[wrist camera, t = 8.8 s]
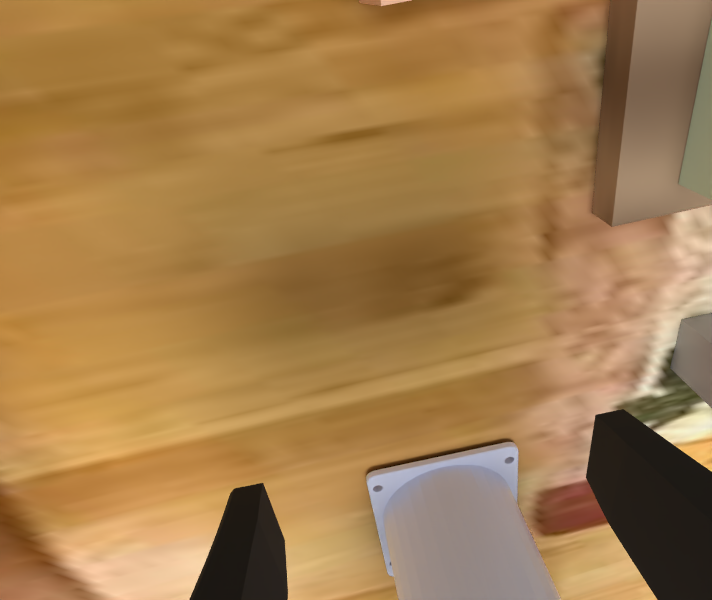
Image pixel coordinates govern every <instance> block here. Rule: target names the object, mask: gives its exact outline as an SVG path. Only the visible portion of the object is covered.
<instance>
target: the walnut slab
mask: <svg viewBox="0 0 712 600" xmlns="http://www.w3.org/2000/svg"><path fill="white" fill-rule="evenodd" d="M711 19H712V0H610V10H609V21H608V33H607V44H606V56H605V67H604V79H603V91H602V102H601V114H600V125H599V137H598V148H597V160H596V171H595V183H594V195H593V206H592V213H593V214H595V215H596V216H597V217H599V218H600V219H602V220H603V221H604V222H606V223H607V224H609V225H610V226H611V227H613V226H618V225H622V224H627V223H631V222H636V221H641V220H645V219H650V218H654V217H659V216H663V215H668V214H672V213H677V212H682V211H686V210H691V209H695V208H700V207H704V206H709V205H712V200H710V199H708V198H706V197H704V196H702V195H700V194H698V193H696V192H694V191H692V190H690V189H688V188H685V187H683V186H681V185H679V184H678V183H679V178H680V173H681V168H682V163H683V158H684V153H685V148H686V143H687V138H688V133H689V128H690V123H691V118H692V113H693V108H694V103H695V99H696V94H697V89H698V84H699V79H700V74H701V69H702V64H703V59H704V54H705V49H706V44H707V39H708V34H709V29H710V24H711Z"/></svg>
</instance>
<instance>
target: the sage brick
mask: <svg viewBox="0 0 712 600" xmlns="http://www.w3.org/2000/svg"><path fill="white" fill-rule="evenodd" d="M678 184H679V185H681V186H683V187H685V188H688V189H690V190H692V191H694V192H696V193H698V194H700V195H702V196H704V197H706V198H708V199H710V200H712V19H711V24H710V29H709V34H708V39H707V44H706V49H705V54H704V59H703V64H702V69H701V74H700V79H699V84H698V89H697V94H696V99H695V103H694V108H693V113H692V118H691V123H690V128H689V133H688V138H687V143H686V148H685V153H684V158H683V163H682V168H681V173H680V178H679V183H678Z"/></svg>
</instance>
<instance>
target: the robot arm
mask: <svg viewBox="0 0 712 600" xmlns="http://www.w3.org/2000/svg"><path fill="white" fill-rule="evenodd" d="M586 478H587V480H588V482H589V484H590V486H591V489H592V491H593V493H594V495H595V497H596V499H597V501H598V503H599V505H600V507H601V509H602V511H603V513H604V515H605V517H606V519H607V521H608V523H609V524H610V526H611V528H612V529H613V531H614V532H615V534H616V536H617V537H618V539H619V540H620V542H621V544H622V545H623V547H624V548H625V550H626V551H627V553H628V555H629V556H630V558H631V559H632V561H633V562H634V564H635V565H636V567H637V569H638V570H639V572H640V573H641V575H642V576H643V578H644V579H645V581H646V582H647V584H648V586H649V587H650V589H651V590H652V592H653V593H654V595H655V596H656V598H657V599H658V600H712V472H711V471H710V470H708V469H707V468H705V467H704V466H702V465H701V464H700V463H698V462H697V461H695V460H694V459H692V458H691V457H690V456H688V455H687V454H685V453H684V452H682V451H681V450H680V449H678V448H677V447H675V446H674V445H673V444H671V443H670V442H668V441H667V440H666V439H664V438H663V437H661V436H660V435H659V434H657V433H656V432H654V431H653V430H652V429H650V428H649V427H647V426H646V425H645V424H643V423H642V422H640V421H639V420H638V419H636V418H635V417H633V416H632V415H631V414H629V413H628V412H626V411H625V410H624V409H622V410H617V411H613V412H608V413H603V414H598V415H596V416H595V423H594V429H593V436H592V442H591V448H590V455H589V461H588V468H587V474H586ZM366 481H367V486H368V491H369V495H370V499H371V504H372V508H373V512H374V517H375V521H376V525H377V530H378V534H379V538H380V543H381V547H382V551H383V556H384V560H385V564H386V569H387V573H388V575H390V576H393V577H394V580H395V585H396V590H397V595H398V600H561V597H560V595H559V593H558V591H557V589H556V587H555V585H554V582H553V580H552V578H551V576H550V574H549V572H548V569H547V567H546V565H545V563H544V561H543V559H542V556H541V554H540V552H539V550H538V548H537V546H536V544H535V541H534V539H533V537H532V535H531V533H530V531H529V528H528V526H527V524H526V522H525V520H524V518H523V515H522V513H521V511H520V509H519V507H518V505H517V494H518V448H517V446H516V444H514V443H513V442H505V443H500V444H495V445H491V446H486V447H481V448H477V449H472V450H467V451H463V452H458V453H453V454H449V455H444V456H440V457H435V458H430V459H426V460H421V461H416V462H412V463H407V464H402V465H398V466H393V467H388V468H384V469H379V470H374V471H371V472H370V473H368V475H367V476H366ZM377 485H378V486H377ZM287 599H288V587H287V569H286V554H285V540H284V537H283V534H282V532H281V529H280V527H279V524H278V521H277V519H276V516H275V513H274V511H273V508H272V506H271V503H270V500H269V498H268V495H267V492H266V490H265V487H264V484H263V483H260V484H255V485H250V486H245V487H240V488H235V489H234V490H233V491H232V492H231V493H230V496H229V499H228V502H227V505H226V508H225V511H224V514H223V517H222V520H221V523H220V525H219V528H218V531H217V533H216V536H215V539H214V541H213V544H212V547H211V549H210V552H209V554H208V557H207V559H206V562H205V564H204V567H203V569H202V571H201V574H200V576H199V578H198V581H197V583H196V586H195V588H194V590H193V593H192V595H191V597H190V600H287Z"/></svg>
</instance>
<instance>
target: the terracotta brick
mask: <svg viewBox="0 0 712 600" xmlns="http://www.w3.org/2000/svg"><path fill="white" fill-rule="evenodd" d="M405 1H410V0H359V3H364V4H371V5H378V6H384V5H389V4H394V3H399V2H405Z"/></svg>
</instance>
